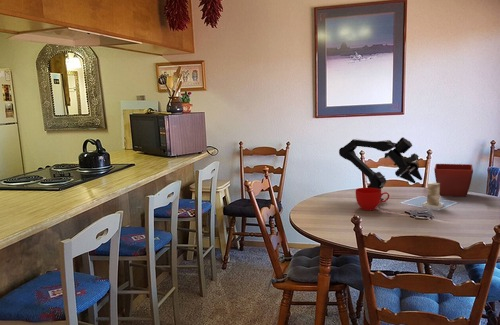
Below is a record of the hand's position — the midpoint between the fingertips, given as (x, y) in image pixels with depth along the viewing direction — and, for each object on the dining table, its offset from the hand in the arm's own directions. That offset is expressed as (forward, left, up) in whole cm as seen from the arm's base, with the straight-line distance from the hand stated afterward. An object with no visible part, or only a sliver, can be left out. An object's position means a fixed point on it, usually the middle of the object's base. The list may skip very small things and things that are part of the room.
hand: (418, 181), depth 204 cm
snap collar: (+1, -8, -12) cm, 14 cm away
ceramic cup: (-21, +13, -14) cm, 28 cm away
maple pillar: (+1, -8, -12) cm, 15 cm away
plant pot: (+34, -2, -14) cm, 37 cm away
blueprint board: (+6, -3, -13) cm, 15 cm away
